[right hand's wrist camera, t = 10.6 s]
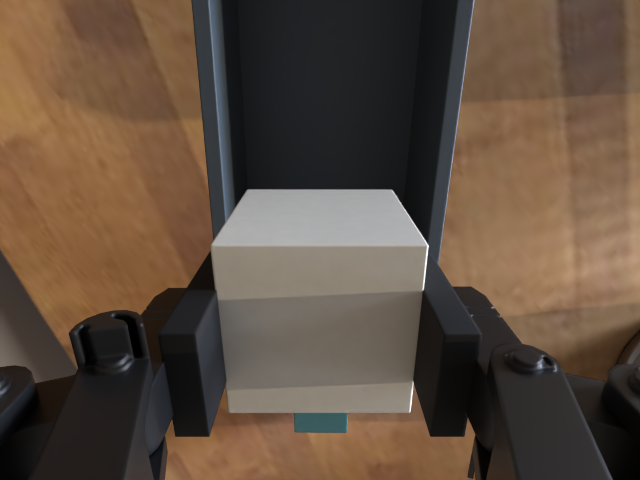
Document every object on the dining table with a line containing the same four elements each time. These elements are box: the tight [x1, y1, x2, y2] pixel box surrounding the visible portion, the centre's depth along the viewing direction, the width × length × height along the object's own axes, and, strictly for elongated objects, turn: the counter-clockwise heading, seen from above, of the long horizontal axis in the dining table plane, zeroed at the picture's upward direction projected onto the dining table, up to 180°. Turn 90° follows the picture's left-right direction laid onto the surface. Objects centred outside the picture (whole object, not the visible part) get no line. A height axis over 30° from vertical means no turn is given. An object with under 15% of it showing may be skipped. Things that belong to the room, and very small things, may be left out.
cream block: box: [210, 189, 428, 413], centre depth 12 cm, size 5×5×5 cm
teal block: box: [294, 413, 348, 433], centre depth 40 cm, size 5×5×5 cm
